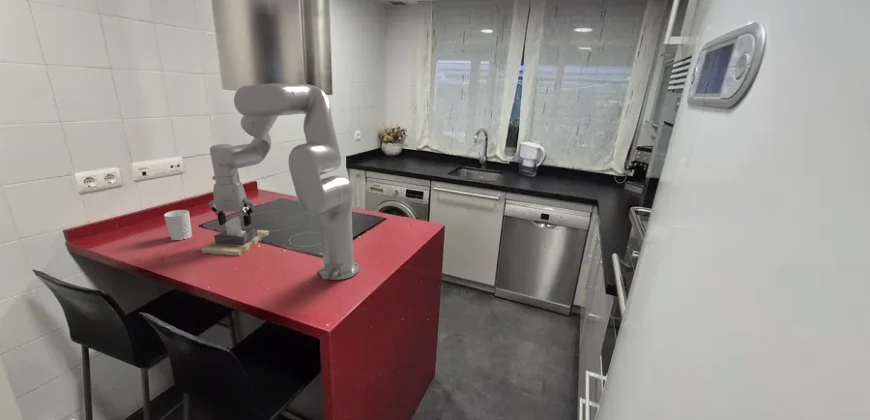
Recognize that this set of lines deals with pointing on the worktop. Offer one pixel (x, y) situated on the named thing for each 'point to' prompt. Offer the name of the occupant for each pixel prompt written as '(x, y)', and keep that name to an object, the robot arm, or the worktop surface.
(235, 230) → the white wedge bracket
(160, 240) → the worktop surface
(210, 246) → the board
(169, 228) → the white cup
